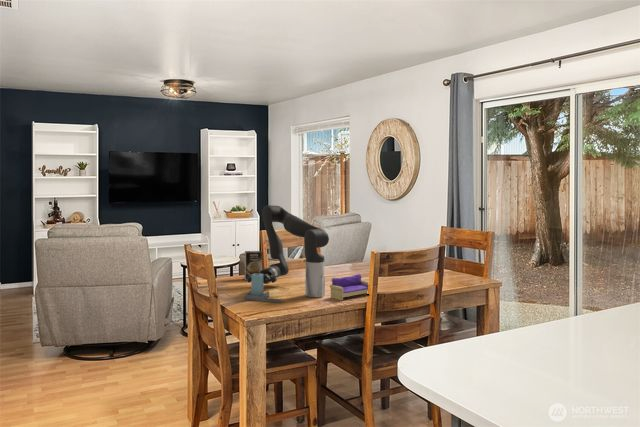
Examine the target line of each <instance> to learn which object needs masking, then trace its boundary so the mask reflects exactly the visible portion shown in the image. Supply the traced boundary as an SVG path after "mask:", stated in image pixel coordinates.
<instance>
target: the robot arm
mask: <svg viewBox="0 0 640 427" xmlns="http://www.w3.org/2000/svg"><path fill="white" fill-rule="evenodd" d="M261 216H262V221H263V224H264V228H265V232H266V236H267V240H268V244H269V245H268V246H269V255H270V258H271V259H272V260H278V261H279V263H278V262H277V263H273V264H270V265H269V266H268V267H265V268H263V269H262V270H261V271H260V272H259V274H264V285H268V284H270V283H276V282H277V281H278V278H279V277H283V276H286V275H288V273H289V266H288V263H287V261H286V258H285V255H284V249H283V243H282V239H281V238H280V237H279V235H278V234H277V232H276V230H275V228H274V225H273V223H280V224H282V225H283V228H284V230H286V232H288V233H289V234H292V235H293V236H295V237H299V238H303V243H304V244H303V245H304V247H303V248H304V256H305V287H304V288H305V290H304V291H305V292H304V295H305V297H309V298H323V297H324V296H325V295H326V276H325V256H324V255H322V254H319V253H318V252H317V249H318V248H323V247H325V246H327V245H328V243H329V241H330V238H329V235H328V232H327V231H326V230H325V229H322V228H320V227H318V226H315V225H313V224H311V223H308V222H307V221H305V220H303V219H302V218H300V217H298V216H296V215H294V214H292V213H290V212H289V211H287V210H285V209H284V207H281V205H280V206H279V205H271V204H268V205H264V206H263V208H262V210H261ZM247 283H249V284H250V283H252V274H250V275H248V276H247Z"/></svg>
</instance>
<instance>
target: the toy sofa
mask: <svg viewBox="0 0 640 427" xmlns="http://www.w3.org/2000/svg"><path fill="white" fill-rule="evenodd" d="M368 282H369V281H366V280H362V275H361V274H360V273H356V274H352V275H349V276H343V277H339V278H338V277H332V278H331V284H330V285H329V288H330V298H331V299H334V298H335V299H334V300H337V299H338V301H341V300H343V301H344V298H346V297H347V298H348V297H351V296H352V297H353V296H358V295H366V296H368V295H367V291H368Z"/></svg>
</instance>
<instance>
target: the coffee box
mask: <svg viewBox="0 0 640 427" xmlns="http://www.w3.org/2000/svg"><path fill="white" fill-rule="evenodd" d="M262 253H263V252H262V251H261V250H245V251H244V272H243V273H244V275H243V276H244V277H243V278H244V280H245V282H246V281H247V276H248V275H250V274H254V273H259V272H260V271H261V270H263V269H262V265H263V263H262V262H263V261H262V260H263V259H262V258H263V255H262Z"/></svg>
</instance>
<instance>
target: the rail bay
mask: <svg viewBox="0 0 640 427" xmlns="http://www.w3.org/2000/svg"><path fill="white" fill-rule="evenodd" d="M243 296H244V298H243V299H244V300H245V301H256V302H263V303H265V302H266V303H276V304H278V303H279V304H283V302H284V299H281V298H280V299H279V298H269V297H270V291H266V292H265V293H263V295H251V290H250V291H248V292H246V293H245V294H243Z"/></svg>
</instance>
